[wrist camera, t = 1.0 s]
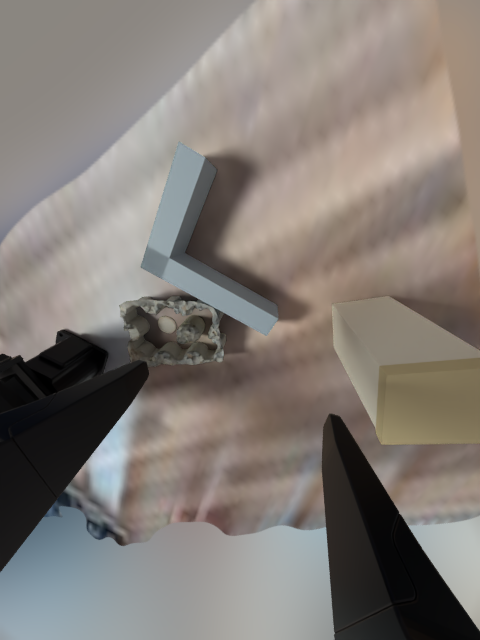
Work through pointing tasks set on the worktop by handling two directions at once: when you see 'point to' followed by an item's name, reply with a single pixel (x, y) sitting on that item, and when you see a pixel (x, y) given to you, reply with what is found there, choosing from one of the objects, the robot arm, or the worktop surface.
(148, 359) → the egg carton
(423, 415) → the tea tin
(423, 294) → the worktop surface
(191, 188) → the corner fence
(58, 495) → the robot arm
